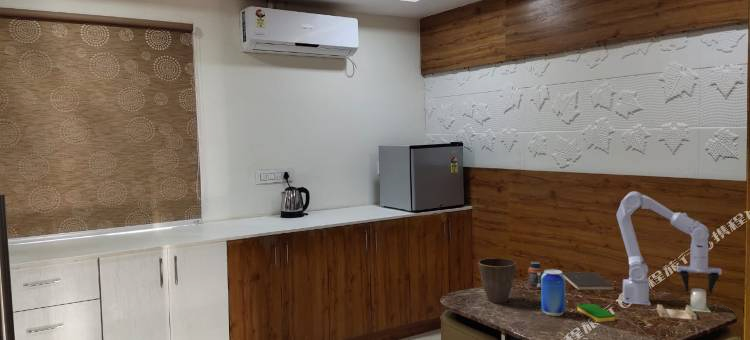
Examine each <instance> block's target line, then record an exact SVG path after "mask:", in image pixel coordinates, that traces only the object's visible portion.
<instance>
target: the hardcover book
mask: <svg viewBox="0 0 750 340" xmlns="http://www.w3.org/2000/svg"><path fill="white" fill-rule="evenodd" d="M562 274H563V276H564V277H565V281H566V280H567V281H568V283H570V284H571V285H572V286H573V287H574V288H575V289H576V288H577V289H576V290H579V291H580V290H582V291H583V290H584V291H585V290H588V291H589V290H590V291H591V290H593V291H594V290H599V291H601V290H606V291H607V290H609V291H610V290H615V285H613V284H611V282H609V281H608V280H606V279H605V278H603V277H602V276H600V275H599V274H598V273H596V272H595V271H594V272H589V271H588V272H576V271H575V272H570V271H569V272H563V271H562Z"/></svg>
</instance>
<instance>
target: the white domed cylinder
mask: <svg viewBox="0 0 750 340" xmlns="http://www.w3.org/2000/svg"><path fill="white" fill-rule="evenodd" d="M690 305H691V309H694V310H699V311H698V312H702V311H704V310H706V306H707V290H705V289H703V288H691V289H690Z"/></svg>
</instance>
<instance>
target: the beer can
mask: <svg viewBox="0 0 750 340" xmlns="http://www.w3.org/2000/svg"><path fill="white" fill-rule="evenodd" d="M562 272H563V271H562V270H559V269H552V268H551V269H545V270H544V271H543V272H542V277H541V289H540V290H541V292H540V293H541V295H540V297H541V311H542V312H543V314H544V313H545V315H546V314H547V316H550V315H551V316H550V317H561V316H562V315H564V313H565V311H566V279H565V277H564V276H563V274H562ZM560 315H561V316H560Z"/></svg>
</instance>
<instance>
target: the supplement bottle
mask: <svg viewBox="0 0 750 340" xmlns="http://www.w3.org/2000/svg"><path fill="white" fill-rule="evenodd" d="M527 273H528V277H527V278H528V280H527V281H528V282H527V283H528V284H527V285H528V288H529V289H531V288H532V290H541V277H542V275H543V268H542V267H541V262H539V261H531V262H530V266H529V267H528V272H527Z"/></svg>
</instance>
